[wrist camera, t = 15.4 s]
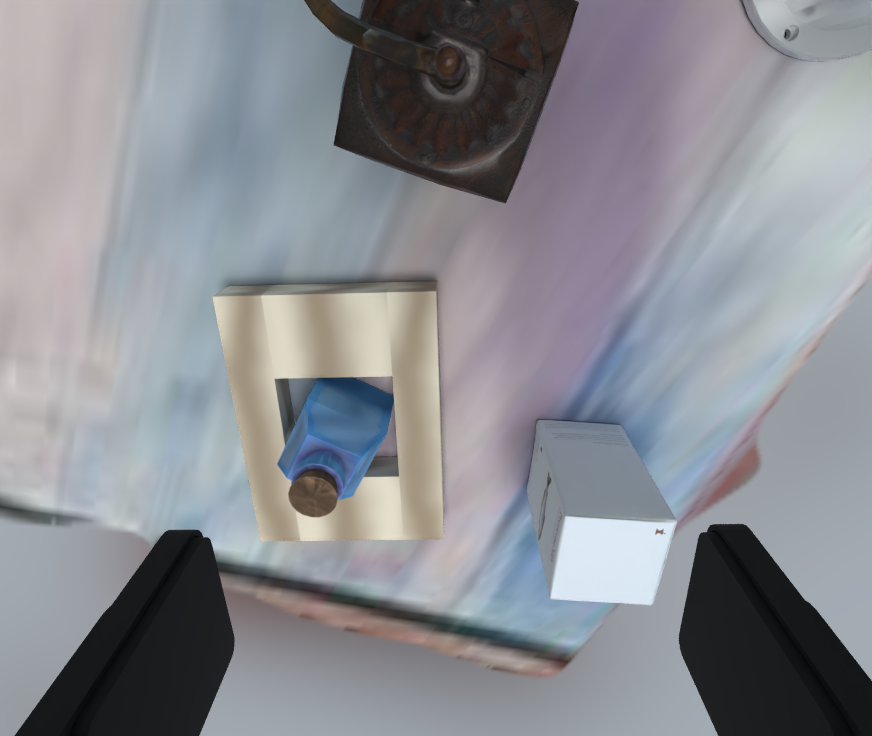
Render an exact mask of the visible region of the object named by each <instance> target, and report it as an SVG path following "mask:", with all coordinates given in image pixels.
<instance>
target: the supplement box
mask: <svg viewBox="0 0 872 736" xmlns="http://www.w3.org/2000/svg"><path fill="white" fill-rule="evenodd" d="M527 494H528V498H529V504H530V508H531V513H532V518H533V523H534V527H535V532H536V537H537V541H538V546H539V551H540V555H541V559H542V564H543V568H544V573H545V577H546V582H547V587H548V591H549V597H550V598H551V599H559V600H574V601H591V602H611V603H627V604H640V605H652V604H653V602H654V599H655V596H656V592H657V588H658V585H659V582H660V578H661V575H662V571H663V568H664V565H665V562H666V557H667V554H668V550H669V546H670V543H671V540H672V537H673V533H674V530H675V527H676V524H677V520H676V518H675V517H674V515H673V513H672V511H671V510H670V508H669V506H668V505H667V503H666V501H665V500H664V498H663V496H662V494H661V493H660V491H659V489H658V488H657V486H656V484H655V482H654V481H653V479H652V477H651V476H650V474H649V472H648V470H647V469H646V467H645V465H644V464H643V462H642V460H641V459H640V457H639V455H638V453H637V452H636V450H635V448H634V447H633V445H632V443H631V441H630V440H629V438H628V436H627V435H626V433H625V431H624V430H623V428H622V426H621V425H615V424H601V423H587V422H571V421H554V420H538V421H537V424H536V435H535V443H534V450H533V457H532V463H531V469H530V475H529V480H528V485H527Z"/></svg>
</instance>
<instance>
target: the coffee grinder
mask: <svg viewBox="0 0 872 736" xmlns="http://www.w3.org/2000/svg"><path fill="white" fill-rule="evenodd" d="M304 1H305V2H306V4H307V5H308V7H309V8H310V10H311V11H312V13H313V14H314V15H315V16H316V17H317V18H318V19H319V20H320V21H321V22H322V23H323V24H324V25H325V26H326V27H327V28H328V29H329V30H330V31H331V32H332V33H333V34H334V35H335V36H336V37H338V38H340V39H342V40H344V41H346V42H348V43H350V44H352V45H353V47H352V51H351V55H350V59H349V63H348V67H347V71H346V75H345V79H344V83H343V87H342V94H341V102H340V110H339V118H338V124H337V130H336V135H335V140H334V146H337V147H339V148H342V149H345V150H347V151H350V152H352V153H355V154H357V155H360V156H362V157H365V158H368V159H370V160H373V161H376V162H379V163H381V164H384V165H387V166H390V167H393V168H395V169H398V170H401V171H404V172H407V173H409V174H412V175H415V176H418V177H421V178H423V179H426V180H429V181H432V182H434V183H437V184H440V185H443V186H447V187H450V188H454V189H457V190H461V191H464V192H468V193H471V194H475V195H478V196H482V197H485V198H489V199H492V200H496V201H499V202H503V203H506V202H507V199H508V197H509V195H510V192H511V190H512V188H513V186H514V183H515V181H516V179H517V176H518V174H519V172H520V170H521V167H522V164H523V162H524V159H525V156H526V154H527V151H528V148H529V146H530V143H531V140H532V137H533V135H534V132H535V129H536V127H537V124H538V121H539V118H540V116H541V113H542V110H543V108H544V105H545V102H546V99H547V97H548V94H549V91H550V89H551V86H552V83H553V80H554V78H555V75H556V72H557V70H558V67H559V64H560V61H561V58H562V55H563V52H564V49H565V46H566V43H567V40H568V37H569V34H570V31H571V28H572V25H573V21H574V16H575V13H576V10H577V7H578V4H579V2H578V1H575V0H363V2H362V7H361V11H360V16H359V19H358V18H356V17H354V16H352V15H350V14H348V13H346V12H344V11H343V10H342V9H340V8H339V7H338V6H337V5H336V4H334V3H333V2H332V1H331V0H304Z"/></svg>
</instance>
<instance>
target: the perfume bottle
mask: <svg viewBox="0 0 872 736" xmlns="http://www.w3.org/2000/svg"><path fill="white" fill-rule="evenodd" d="M393 402H394V396H393V395H391V394H389V393H386V392H384V391H382V390H380V389H378V388H376V387H373V386H371V385H369V384H367V383H365V382H362V381H360V380H358V379H356V378H354V377H333V378H318V380H317V381H316V383H315V385H314V387H313V389H312V391H311V392H310V394H309V396H308V398H307V400H306V402H305V405H304V407H303V409H302V411H301V413H300V415H299V418H298V420H297V422H296V424H295V426H294V428H293V431H292V433H291V435H290V437H289V439H288V442H287V444H286V446H285V448H284V450H283V452H282V455H281V457H280V459H279V461H278V463H277V465H278V466H279V468H280V469H281V471H282V472H283V474H284V475H285V476H286V478H287V479H290V480H291V487H290V488H289V492H288V497H289V501H290V503H291V505H292V507H293V508H294V509H295V510H296V511H297V512H299V513H301V514H302V515H305V516H308V517H322V516H326V515H328V514H329V513H331V512H332V511H333V510H334V509H335V507H336V505H337V501H338V500H342V499H345V498H349V497H352V496H353V495H354V493H355V492H356V490H357V488H358V486H359V484H360V482H361V480H362V479H363V477H364V475H365V473H366V471H367V469H368V468H369V466H370V464H371V462H372V460H373V458H374V456H375V455H376V453H377V451H378V449H379V447H380V445H381V444H382V442H383V440H384V438H385V436H386V434H387V430H388V426H389V421H390V416H391V411H392V406H393Z"/></svg>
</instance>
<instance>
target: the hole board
mask: <svg viewBox="0 0 872 736" xmlns="http://www.w3.org/2000/svg"><path fill="white" fill-rule="evenodd" d="M213 301H214V306H215V312H216V317H217V322H218V327H219V332H220V337H221V342H222V347H223V352H224V357H225V362H226V367H227V372H228V377H229V382H230V388H231V393H232V398H233V403H234V408H235V413H236V418H237V423H238V428H239V433H240V438H241V443H242V448H243V453H244V458H245V464H246V469H247V474H248V479H249V484H250V489H251V494H252V499H253V504H254V509H255V514H256V519H257V524H258V529H259V534H260V540H261V541H326V540H429V539H444V499H443V466H442V433H441V400H440V366H439V333H438V300H437V281H414V282H374V283H333V284H293V285H252V286H228V287H226V288H225V289H223V290H222V291H220V292H219V293H217V294H216V295H214V296H213ZM385 376H392V378H393V393H394V408H395V423H396V437H397V452H398V457H374V458H373V460H372V462H371V464H370V466H369V468H368V469H367V471H366V473H365V475H364V477H363V479H362V480H361V482H360V484H359V486H358V488H357V490H356V492H355V493H354V495H353V496H352V497H349V498H345V499H342V500H338V501H337V505H336V507H335V509H334V510H333V511H332V512H331V513H329V514H328V515H326V516H322V517H308V516H305V515H302V514H301V513H299V512H297V511H296V510H295V509H294V508H293V507H292V505H291V503H290V501H289V497H288V492H289V488H290V487H291V480H290V479H287V478H286V476H285V475H284V474H283V472H282V471H281V469H280V468H279V466H278V465H277V463H278V461H279V459H280V457H281V455H282V452H283V450H284V448H285V446H286V444H287V442H288V439H289V437H290V435H291V433H292V431H293V428H294V426H295V424H294V418H293V411H292V405H291V398H290V391H289V385H288V378H333V377H385Z"/></svg>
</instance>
